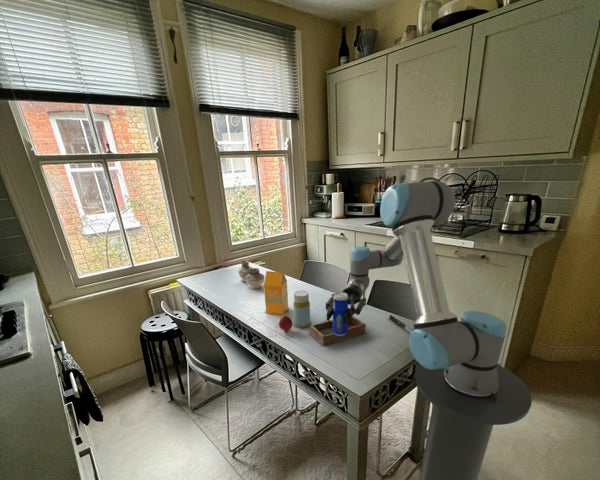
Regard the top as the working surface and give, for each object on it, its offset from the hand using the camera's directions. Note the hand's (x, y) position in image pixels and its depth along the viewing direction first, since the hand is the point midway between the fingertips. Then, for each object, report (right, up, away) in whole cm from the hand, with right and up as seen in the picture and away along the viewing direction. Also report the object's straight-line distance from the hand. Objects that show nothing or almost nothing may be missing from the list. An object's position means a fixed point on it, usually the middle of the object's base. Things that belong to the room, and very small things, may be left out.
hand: (336, 318), depth 107 cm
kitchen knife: (+32, -5, +29) cm, 43 cm away
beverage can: (+2, -6, +8) cm, 10 cm away
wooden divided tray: (+4, -8, +26) cm, 28 cm away
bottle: (-11, -4, +35) cm, 37 cm away
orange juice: (-23, +2, +49) cm, 54 cm away
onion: (-18, -7, +30) cm, 36 cm away
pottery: (-42, +17, +84) cm, 95 cm away
